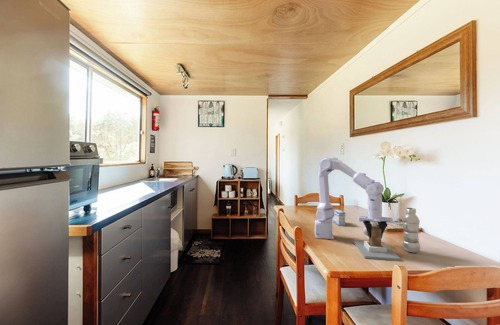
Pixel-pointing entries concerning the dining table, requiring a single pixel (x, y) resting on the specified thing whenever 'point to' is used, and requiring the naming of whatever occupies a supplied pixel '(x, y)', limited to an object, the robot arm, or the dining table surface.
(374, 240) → the walnut block
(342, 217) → the medicine box
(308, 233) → the dining table surface
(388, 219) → the robot arm
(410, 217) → the plastic bottle
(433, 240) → the dining table surface
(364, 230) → the tube
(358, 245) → the dock board
